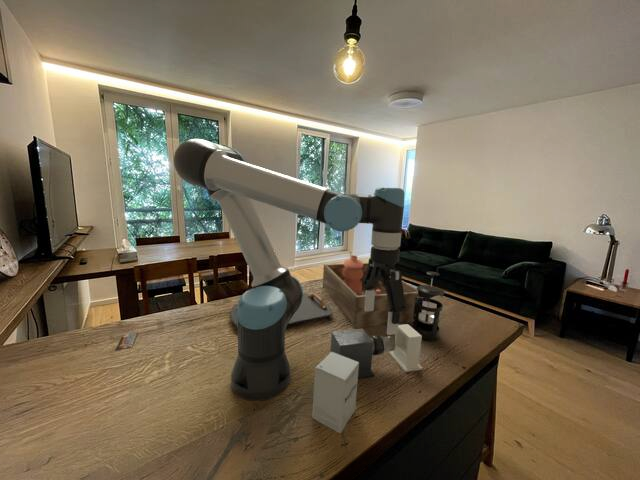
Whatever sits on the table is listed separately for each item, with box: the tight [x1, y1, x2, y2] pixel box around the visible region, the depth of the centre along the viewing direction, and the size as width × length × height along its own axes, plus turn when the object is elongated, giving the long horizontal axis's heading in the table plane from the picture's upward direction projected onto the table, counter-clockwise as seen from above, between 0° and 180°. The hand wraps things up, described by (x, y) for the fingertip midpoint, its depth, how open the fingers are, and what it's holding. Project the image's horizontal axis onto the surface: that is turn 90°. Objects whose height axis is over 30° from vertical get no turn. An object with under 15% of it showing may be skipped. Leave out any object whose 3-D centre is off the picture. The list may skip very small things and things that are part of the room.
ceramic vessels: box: [342, 254, 381, 295], centre depth 120 cm, size 35×21×19 cm, turn 27°
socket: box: [388, 323, 424, 373], centre depth 81 cm, size 6×9×10 cm, turn 16°
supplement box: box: [311, 351, 359, 434], centre depth 60 cm, size 7×7×13 cm
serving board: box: [229, 293, 333, 328], centre depth 107 cm, size 39×23×6 cm, turn 119°
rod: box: [369, 334, 395, 356], centre depth 77 cm, size 16×5×5 cm, turn 105°
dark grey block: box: [330, 328, 376, 380], centre depth 76 cm, size 11×9×10 cm
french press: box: [411, 271, 445, 342], centre depth 96 cm, size 12×9×23 cm
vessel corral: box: [322, 262, 423, 329], centre depth 122 cm, size 27×41×12 cm, turn 15°
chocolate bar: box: [114, 332, 139, 352], centre depth 85 cm, size 11×5×1 cm, turn 24°
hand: (379, 321), depth 76 cm, fingers open, 13 cm apart
